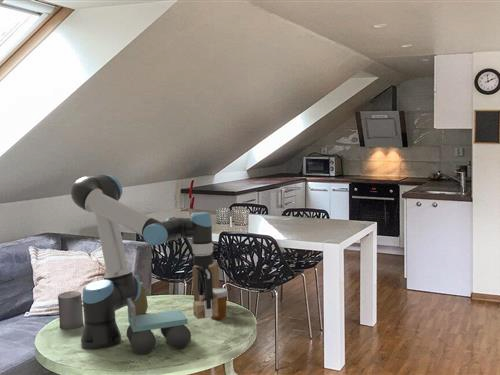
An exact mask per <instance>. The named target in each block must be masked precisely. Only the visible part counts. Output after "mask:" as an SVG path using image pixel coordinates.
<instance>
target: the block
mask: <svg viewBox="0 0 500 375" xmlns="http://www.w3.org/2000/svg"><path fill="white" fill-rule="evenodd" d="M197 267H199V266H196V265H193V266H192V283H193V284H192V285H193V286H192V287H193V288H192V289H193V302H195V301H200V295H199V292H198V283H197V269H196V268H197ZM209 269H210V272H211V273H212V288H220V275H219V274H220V272H219V270H220V269H219V263H218V262H217V261H214V263H213V264H212V265H209Z"/></svg>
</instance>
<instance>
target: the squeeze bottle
mask: <svg viewBox="0 0 500 375" xmlns="http://www.w3.org/2000/svg"><path fill="white" fill-rule="evenodd" d="M135 276H136V277H137V279H138V280H139V281H140V284H141V293H140V296H139V297H138V299H137V300H136V301H135V302H133V304H134V305H135V311H136V316H137V315H144V314H147V311H148V308H149V306H148V305H149V304H148V299H147V298H148V297H147V293H146V288H145V287H144V283H143V282H141V280H140V277H139V276H140V275H138V274H135ZM131 310H132V309H131Z"/></svg>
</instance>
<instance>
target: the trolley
mask: <svg viewBox="0 0 500 375" xmlns="http://www.w3.org/2000/svg"><path fill="white" fill-rule="evenodd" d="M127 303H128V306H127V319H128V324H129V325H128V327H127V329H126V337H127V339H128V340H127V341H129V342H130V346H131V350H132V351H133V352H134V353H135V354H137V355H140V356H145V355H149V354H150V353H152V352H153V351H154V349H156V345H157V338H156V336H155V334H154V332H153V331H152V330H157V329H158V330H159V329H160V332H161V334H162V336H163V337H164V338H165V341H166V342H167V344H168V346H169V347H170V348H171V349H173V350H182V349H185V348H186V347H188V345H189V343H190V342H191V339H192V333H191V331H190V329H189V328H188V326H186V325H189V323H188V322H189V320H188V318H187V317H186V315H185V314H184V313H183V312H182V310H181V309H175V310H167V311H161V312H154V313H153V312H152V313H146V314H144V315H137V316H136V311H135V305H134V304H133V302H132V300H131V298H127ZM131 309H132V310H131Z"/></svg>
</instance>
